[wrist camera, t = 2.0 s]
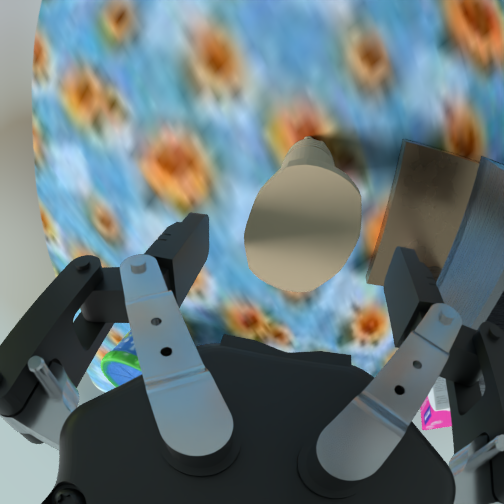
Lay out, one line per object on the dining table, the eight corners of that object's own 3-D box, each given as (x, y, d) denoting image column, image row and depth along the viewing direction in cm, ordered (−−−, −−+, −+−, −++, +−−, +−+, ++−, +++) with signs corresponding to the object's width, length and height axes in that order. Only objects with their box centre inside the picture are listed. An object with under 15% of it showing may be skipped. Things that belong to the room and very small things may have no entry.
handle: (348, 131, 24) (383, 193, 11) (322, 193, 28) (321, 303, 15) (296, 110, 24) (272, 148, 12) (273, 175, 28) (231, 270, 15)
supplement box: (420, 335, 34) (435, 410, 25) (459, 331, 33) (480, 402, 23) (412, 362, 37) (421, 432, 28) (447, 358, 36) (462, 425, 26)
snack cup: (167, 366, 49) (144, 414, 40) (117, 329, 46) (87, 375, 38) (219, 332, 41) (196, 393, 32) (158, 284, 38) (120, 341, 30)
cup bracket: (406, 119, 22) (527, 200, 7) (520, 161, 20) (637, 259, 5) (365, 276, 31) (380, 433, 16) (468, 292, 29) (516, 422, 15)
